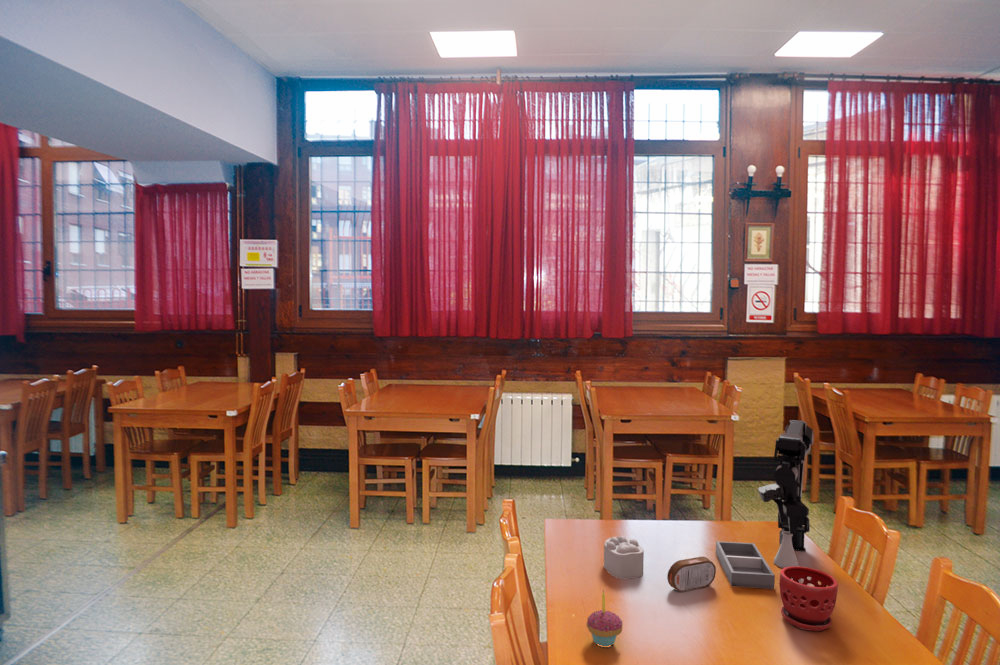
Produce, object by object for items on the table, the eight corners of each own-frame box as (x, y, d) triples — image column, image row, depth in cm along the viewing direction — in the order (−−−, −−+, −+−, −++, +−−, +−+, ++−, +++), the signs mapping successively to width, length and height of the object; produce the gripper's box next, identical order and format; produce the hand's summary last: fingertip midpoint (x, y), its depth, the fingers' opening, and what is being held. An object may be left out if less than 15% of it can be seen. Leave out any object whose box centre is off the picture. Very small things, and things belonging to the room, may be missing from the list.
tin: (710, 581, 180) (710, 553, 180) (717, 586, 177) (718, 557, 177) (666, 590, 175) (666, 561, 174) (673, 595, 172) (673, 565, 171)
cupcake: (583, 633, 153) (583, 585, 152) (617, 631, 154) (617, 584, 153) (591, 653, 144) (591, 603, 144) (627, 651, 145) (627, 601, 144)
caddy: (753, 555, 198) (754, 543, 197) (774, 589, 176) (774, 575, 175) (715, 553, 199) (715, 541, 199) (731, 586, 177) (731, 572, 177)
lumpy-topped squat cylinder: (615, 580, 181) (615, 551, 180) (597, 561, 194) (597, 534, 193) (647, 576, 184) (648, 547, 183) (627, 557, 196) (628, 530, 196)
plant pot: (834, 641, 150) (835, 593, 149) (774, 625, 157) (776, 579, 156) (838, 617, 161) (839, 572, 160) (782, 603, 168) (783, 560, 167)
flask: (794, 560, 195) (795, 528, 194) (803, 570, 187) (804, 537, 187) (770, 559, 195) (770, 527, 195) (777, 569, 188) (778, 537, 187)
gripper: (753, 467, 200) (751, 515, 201) (769, 486, 181) (768, 538, 183) (790, 469, 198) (788, 517, 199) (810, 487, 180) (808, 540, 181)
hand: (787, 527), depth 191 cm, fingers open, 9 cm apart
